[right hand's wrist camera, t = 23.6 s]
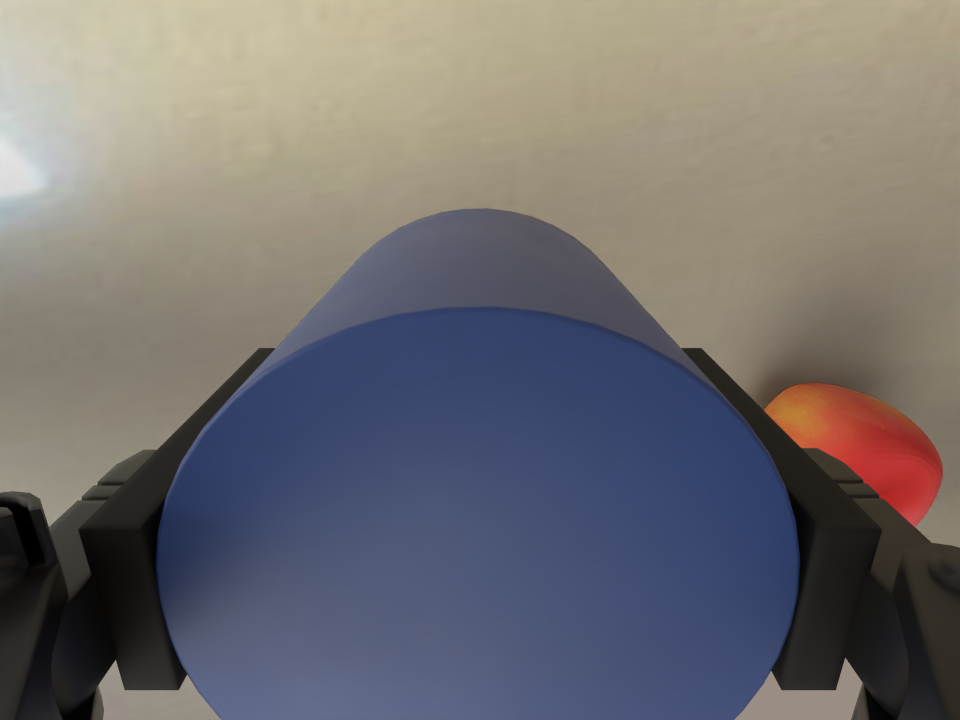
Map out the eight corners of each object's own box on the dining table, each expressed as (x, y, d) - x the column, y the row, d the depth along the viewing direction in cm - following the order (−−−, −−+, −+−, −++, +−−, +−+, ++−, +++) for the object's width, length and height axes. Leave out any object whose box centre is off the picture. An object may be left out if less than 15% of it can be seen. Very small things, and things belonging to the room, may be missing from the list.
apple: (690, 416, 40) (754, 502, 31) (815, 327, 38) (926, 390, 29) (766, 508, 43) (846, 613, 33) (887, 429, 41) (1010, 518, 31)
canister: (641, 193, 14) (844, 276, 6) (637, 495, 17) (771, 807, 9) (290, 223, 14) (59, 339, 7) (346, 516, 17) (237, 836, 10)
